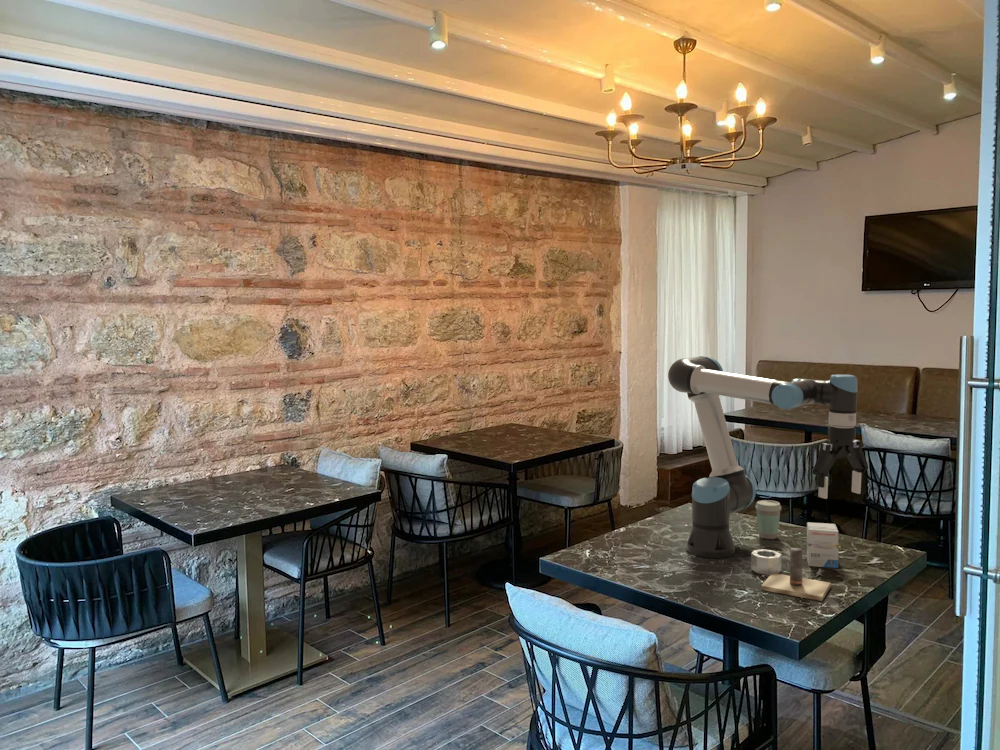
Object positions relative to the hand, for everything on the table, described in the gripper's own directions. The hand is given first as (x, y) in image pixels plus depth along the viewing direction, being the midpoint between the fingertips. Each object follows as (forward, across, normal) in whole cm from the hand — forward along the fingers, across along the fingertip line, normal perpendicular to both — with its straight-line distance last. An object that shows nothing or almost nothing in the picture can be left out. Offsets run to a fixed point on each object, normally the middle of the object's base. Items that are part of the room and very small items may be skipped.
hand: (839, 495), depth 223 cm
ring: (+22, -22, +7) cm, 32 cm away
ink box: (+22, -2, +4) cm, 23 cm away
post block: (+22, -25, -8) cm, 34 cm away
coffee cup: (+23, +3, +32) cm, 39 cm away
